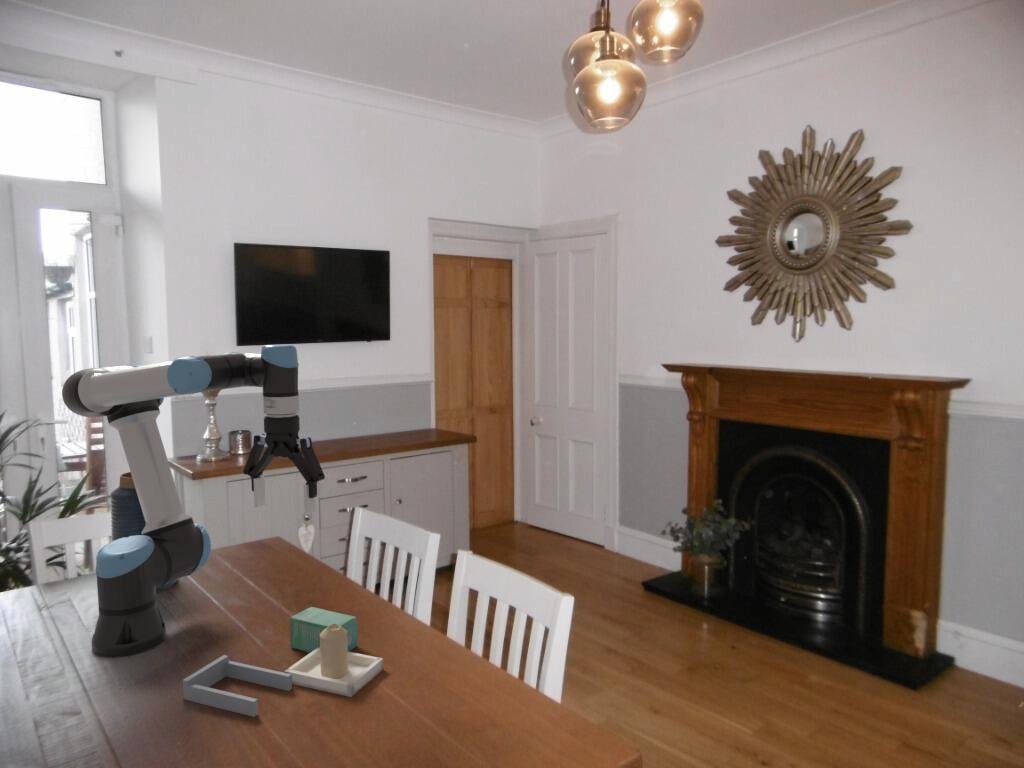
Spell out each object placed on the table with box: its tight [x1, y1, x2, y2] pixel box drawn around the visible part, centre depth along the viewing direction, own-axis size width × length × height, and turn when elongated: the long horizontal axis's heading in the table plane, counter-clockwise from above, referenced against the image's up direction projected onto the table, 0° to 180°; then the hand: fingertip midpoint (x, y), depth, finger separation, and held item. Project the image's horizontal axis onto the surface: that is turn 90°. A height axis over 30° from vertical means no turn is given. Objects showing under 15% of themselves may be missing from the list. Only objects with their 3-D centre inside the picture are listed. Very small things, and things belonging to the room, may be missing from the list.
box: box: [290, 606, 359, 653], centre depth 163 cm, size 7×14×8 cm, turn 66°
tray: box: [283, 646, 384, 698], centre depth 150 cm, size 16×12×2 cm
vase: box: [110, 471, 178, 594], centre depth 198 cm, size 16×16×32 cm
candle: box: [320, 624, 348, 679], centre depth 150 cm, size 6×6×10 cm
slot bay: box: [182, 654, 293, 718], centre depth 143 cm, size 17×11×4 cm, turn 69°
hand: (284, 508), depth 161 cm, fingers open, 13 cm apart
